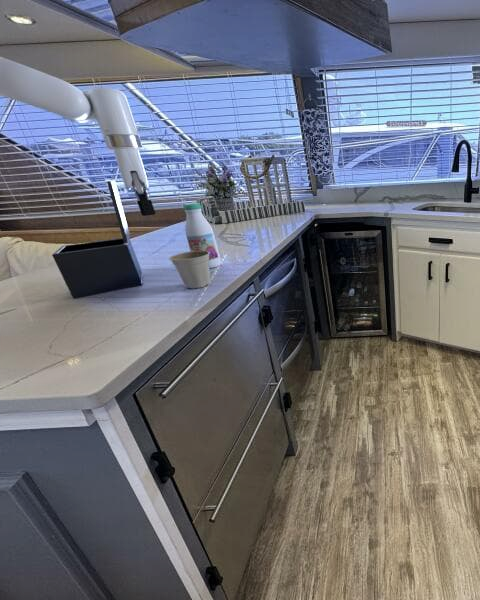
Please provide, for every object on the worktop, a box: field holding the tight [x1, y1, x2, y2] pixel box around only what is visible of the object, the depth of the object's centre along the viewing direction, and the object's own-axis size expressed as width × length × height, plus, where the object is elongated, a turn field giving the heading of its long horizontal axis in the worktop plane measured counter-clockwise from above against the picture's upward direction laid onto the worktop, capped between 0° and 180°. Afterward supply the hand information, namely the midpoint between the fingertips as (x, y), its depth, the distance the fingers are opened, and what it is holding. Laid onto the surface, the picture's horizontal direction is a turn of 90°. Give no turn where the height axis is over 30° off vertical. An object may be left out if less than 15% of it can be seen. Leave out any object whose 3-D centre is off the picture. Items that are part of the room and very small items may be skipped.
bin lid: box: [106, 180, 131, 243], centre depth 88 cm, size 15×13×1 cm
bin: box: [51, 237, 144, 300], centre depth 89 cm, size 15×13×12 cm
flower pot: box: [168, 251, 212, 289], centre depth 87 cm, size 9×9×9 cm
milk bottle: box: [182, 202, 222, 269], centre depth 102 cm, size 8×8×20 cm
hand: (149, 214), depth 92 cm, fingers closed
